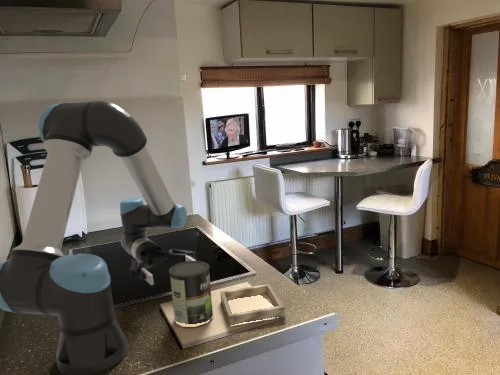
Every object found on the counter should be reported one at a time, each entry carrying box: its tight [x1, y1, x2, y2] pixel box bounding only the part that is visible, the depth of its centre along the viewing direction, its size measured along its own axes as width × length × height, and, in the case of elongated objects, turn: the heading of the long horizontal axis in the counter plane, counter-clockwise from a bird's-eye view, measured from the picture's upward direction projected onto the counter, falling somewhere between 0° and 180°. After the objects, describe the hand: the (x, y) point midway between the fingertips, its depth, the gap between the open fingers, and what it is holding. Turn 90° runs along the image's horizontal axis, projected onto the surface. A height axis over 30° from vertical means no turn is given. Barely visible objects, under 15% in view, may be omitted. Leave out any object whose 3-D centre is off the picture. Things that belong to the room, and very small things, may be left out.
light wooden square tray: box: [219, 283, 286, 327], centre depth 114 cm, size 14×14×3 cm
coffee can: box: [168, 260, 214, 324], centre depth 110 cm, size 10×10×14 cm
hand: (175, 273), depth 118 cm, fingers open, 13 cm apart
